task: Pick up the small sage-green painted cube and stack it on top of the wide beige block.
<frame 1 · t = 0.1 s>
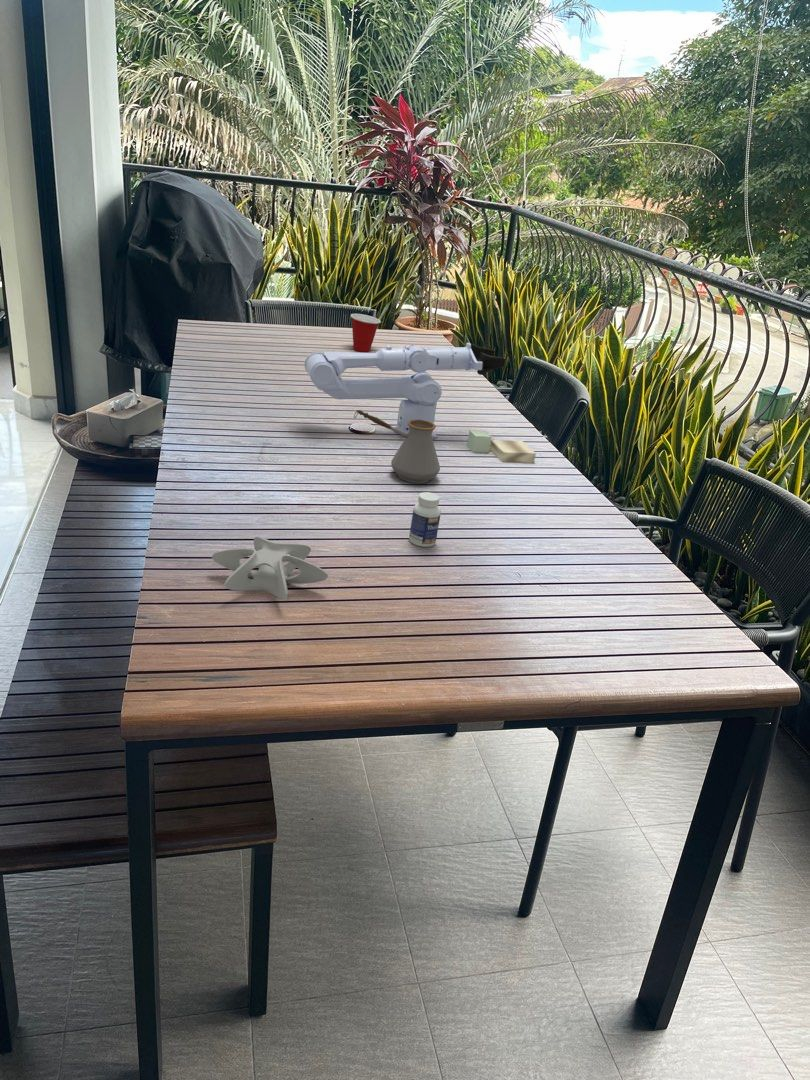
hand: (499, 358, 221), 22 cm above the table, tool horizontal, fingers open, 7 cm apart
coffee pot: (393, 475, 195), on the table
sage cube: (477, 449, 219), on the table
plastic cup: (362, 351, 299), on the table
pill bottle: (422, 542, 165), on the table
sculpture: (268, 583, 143), on the table
beige block: (510, 457, 218), on the table
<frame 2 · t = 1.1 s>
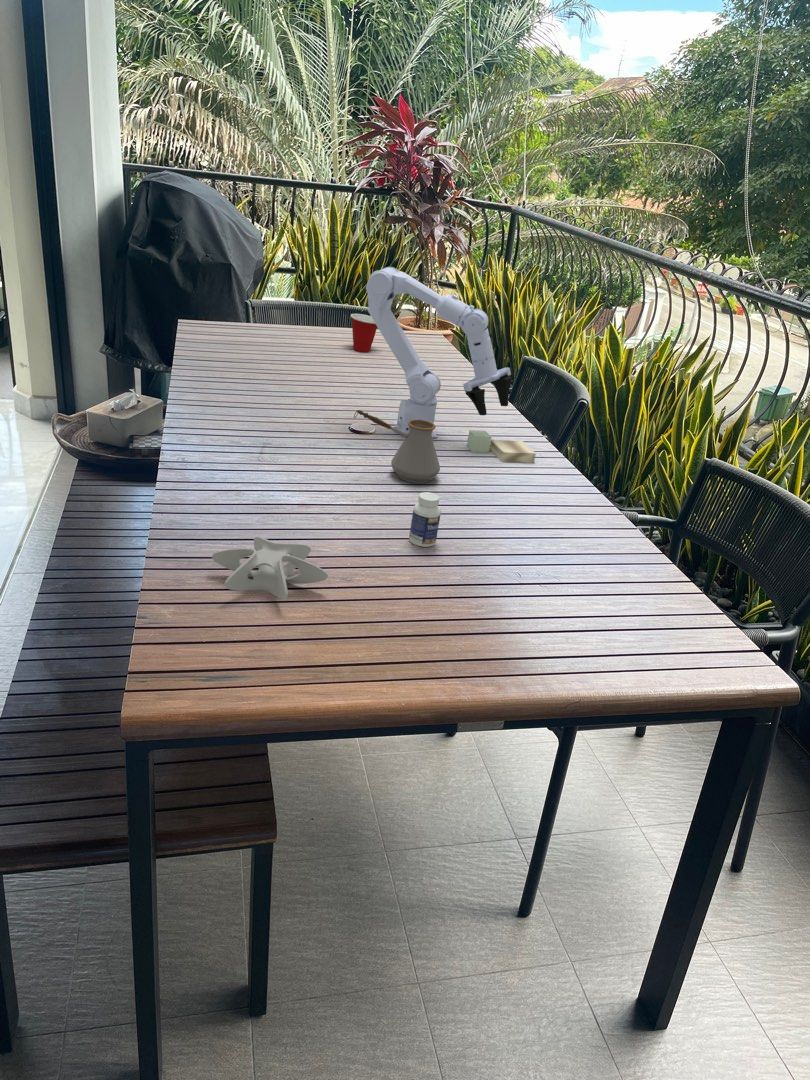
hand: (493, 410, 217), 10 cm above the table, tool tilted 20°, fingers open, 7 cm apart
nothing on the table moved.
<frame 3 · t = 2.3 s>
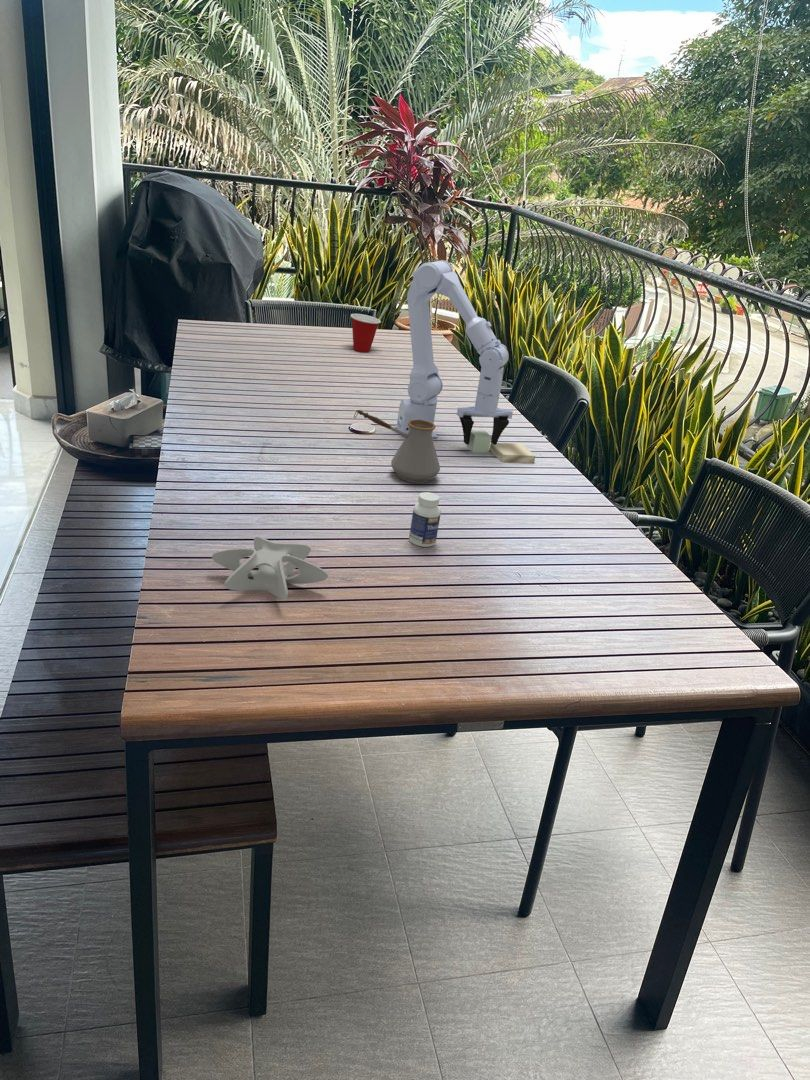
hand: (479, 443, 218), 2 cm above the table, tool pointing down, fingers open, 7 cm apart
beige block: (510, 459, 218), on the table, touching gripper
everything else where it was.
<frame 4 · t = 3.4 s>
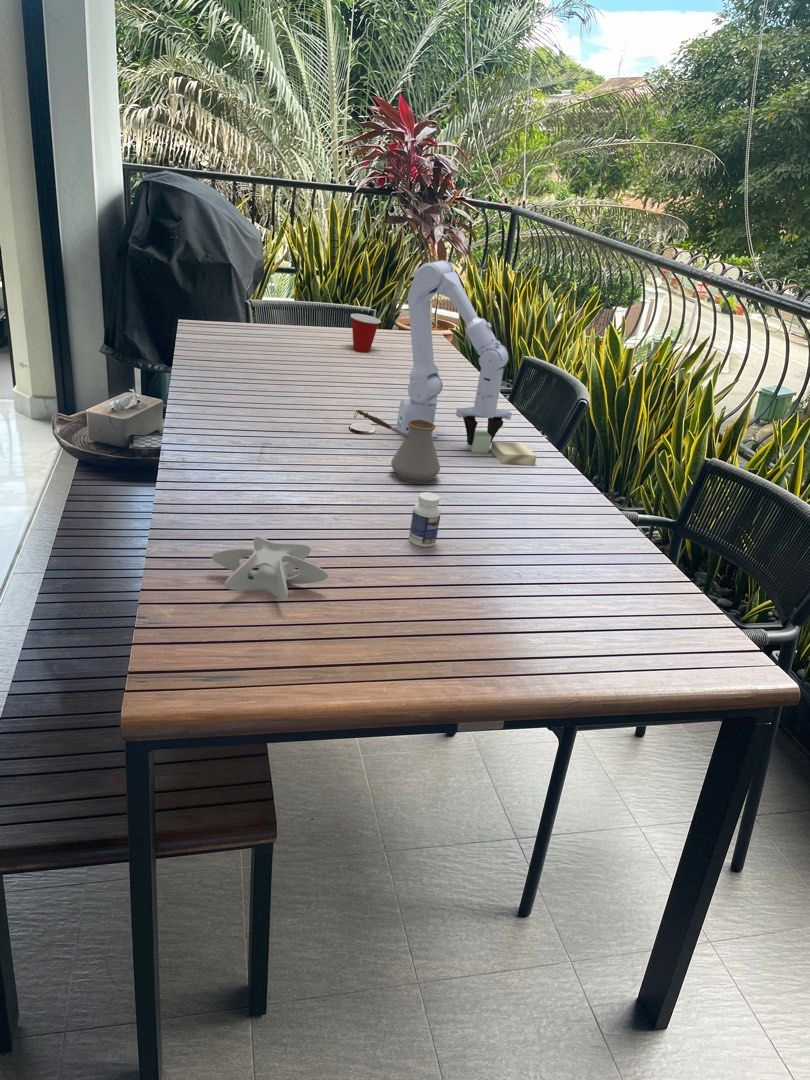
hand: (478, 444, 218), 1 cm above the table, tool pointing down, fingers closed on sage cube, 4 cm apart
sage cube: (477, 449, 219), on the table, touching gripper
beige block: (511, 459, 217), on the table
everything else where it was.
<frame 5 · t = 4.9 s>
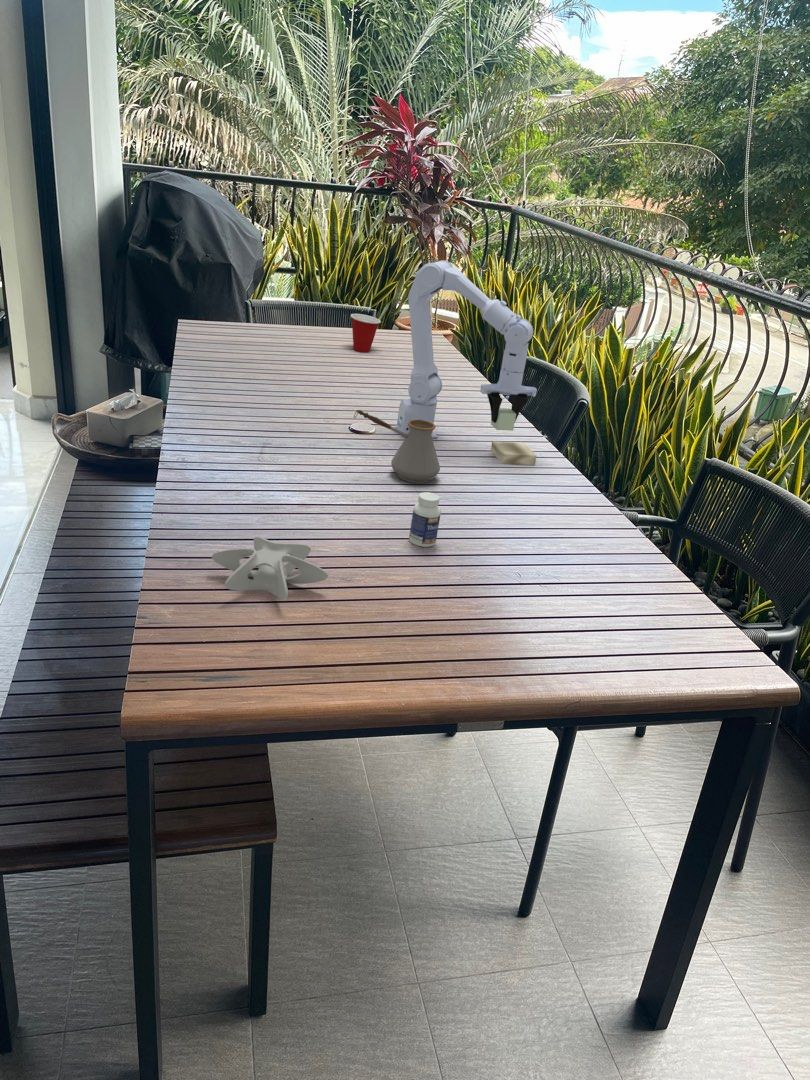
hand: (502, 421, 215), 9 cm above the table, tool pointing down, fingers closed on sage cube, 4 cm apart
sage cube: (501, 427, 215), point 7 cm above the table, touching gripper
everything else where it was.
when the fingers open (6 cm above the table, at t = 6.6 s): sage cube drops 2 cm, point 2 cm above the table.
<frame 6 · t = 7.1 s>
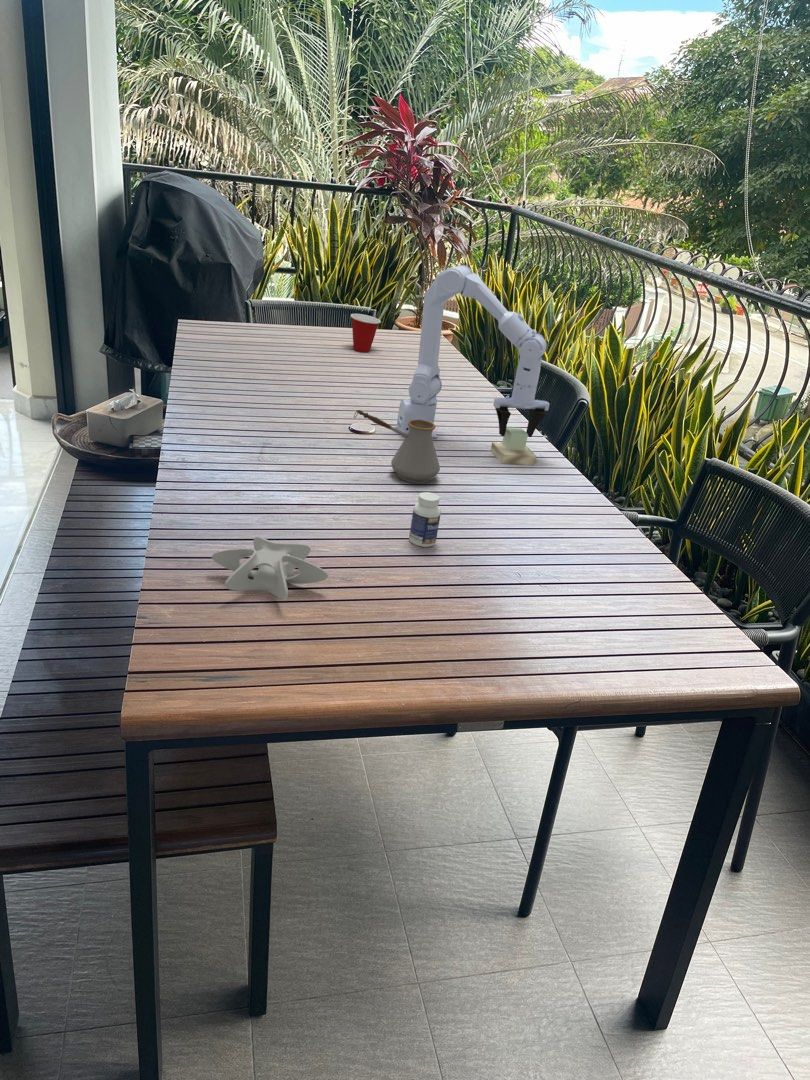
hand: (515, 435, 215), 6 cm above the table, tool pointing down, fingers open, 7 cm apart
sage cube: (513, 447, 217), point 2 cm above the table
everything else where it was.
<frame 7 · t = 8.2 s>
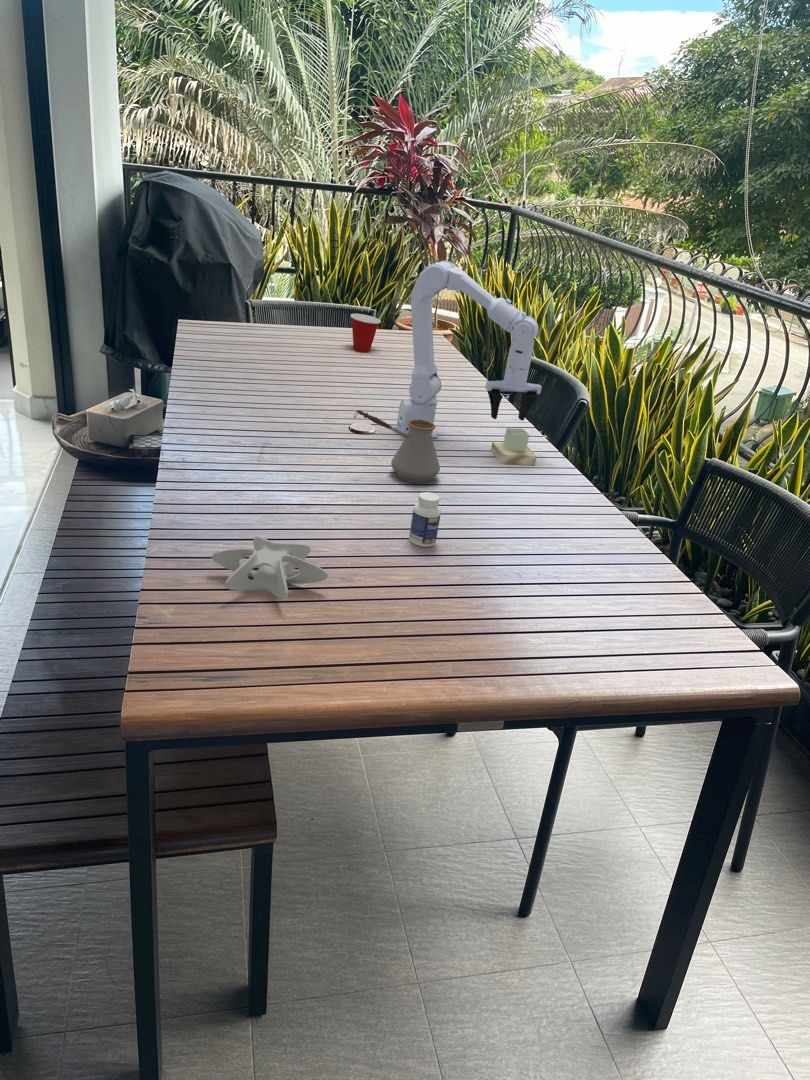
hand: (507, 418, 215), 9 cm above the table, tool pointing down, fingers open, 7 cm apart
sage cube: (514, 447, 216), point 3 cm above the table, touching beige block
beige block: (511, 459, 217), on the table, touching sage cube
everything else where it was.
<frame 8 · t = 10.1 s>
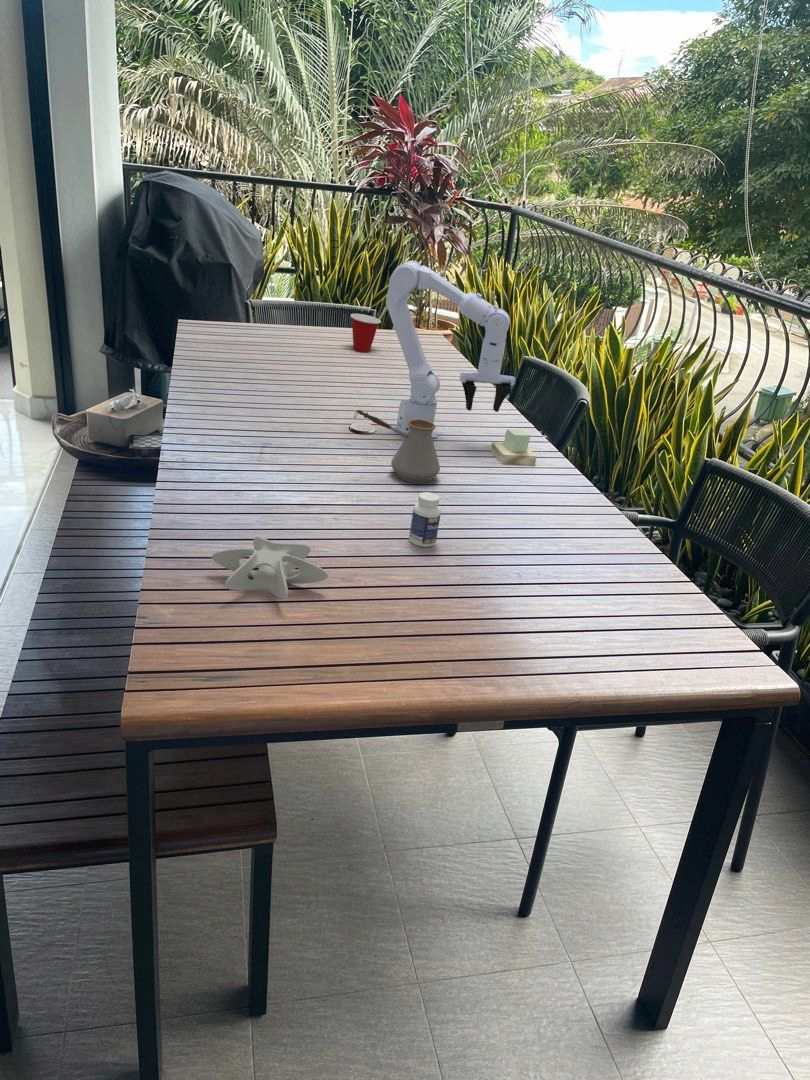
hand: (482, 410, 219), 9 cm above the table, tool pointing down, fingers open, 7 cm apart
nothing on the table moved.
at the end: sage cube 0.4 cm off-centre on the beige block, point 3.0 cm above the beige block's base; sage cube tilted 0°; sage cube touching beige block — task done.
